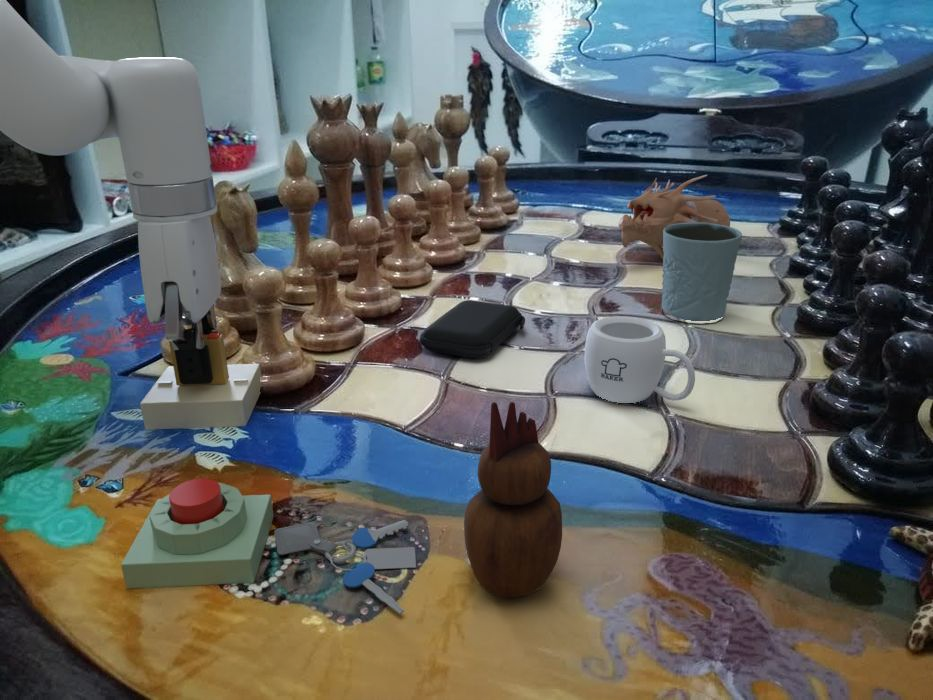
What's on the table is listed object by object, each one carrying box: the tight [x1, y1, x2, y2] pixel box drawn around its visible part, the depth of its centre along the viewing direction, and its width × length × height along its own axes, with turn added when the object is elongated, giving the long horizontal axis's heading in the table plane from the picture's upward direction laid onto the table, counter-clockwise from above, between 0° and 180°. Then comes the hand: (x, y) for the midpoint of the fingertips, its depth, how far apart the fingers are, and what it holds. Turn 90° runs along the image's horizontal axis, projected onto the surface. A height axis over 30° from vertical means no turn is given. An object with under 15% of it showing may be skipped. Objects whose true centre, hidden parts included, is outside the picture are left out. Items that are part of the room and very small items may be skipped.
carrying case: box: [419, 299, 526, 360], centre depth 94 cm, size 11×3×15 cm
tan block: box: [168, 332, 229, 386], centre depth 76 cm, size 5×2×5 cm, turn 94°
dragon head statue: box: [618, 174, 731, 260], centre depth 125 cm, size 13×15×25 cm
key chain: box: [273, 519, 417, 615], centre depth 56 cm, size 14×8×1 cm, turn 56°
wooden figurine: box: [463, 401, 563, 598], centre depth 50 cm, size 7×6×15 cm
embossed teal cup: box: [661, 222, 743, 321], centre depth 101 cm, size 10×10×12 cm
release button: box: [169, 478, 223, 524], centre depth 54 cm, size 4×4×2 cm
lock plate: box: [139, 363, 262, 431], centre depth 77 cm, size 10×9×3 cm
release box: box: [120, 482, 275, 590], centre depth 55 cm, size 9×8×4 cm
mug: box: [584, 315, 696, 404], centre depth 78 cm, size 12×8×8 cm
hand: (201, 373), depth 76 cm, fingers open, 3 cm apart
